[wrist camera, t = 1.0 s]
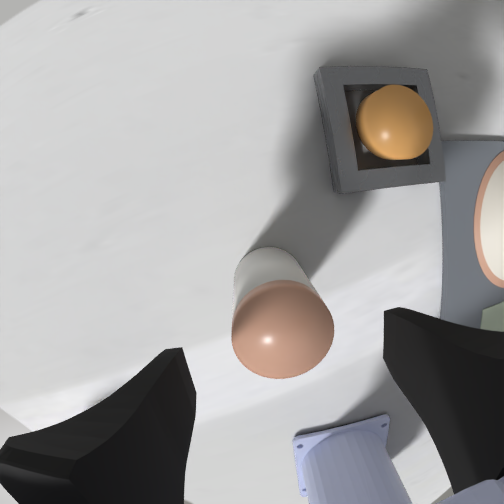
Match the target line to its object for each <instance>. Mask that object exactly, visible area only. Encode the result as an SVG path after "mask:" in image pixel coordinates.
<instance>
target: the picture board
mask: <svg viewBox="0 0 504 504" xmlns="http://www.w3.org/2000/svg"><path fill="white" fill-rule="evenodd" d="M441 142H442V149H443V157H444V165H445V175H446V181H444V182H439V185H440V197H441V212H442V237H443V273H442V299H441V314H440V319H442V320H445V321H449V322H452V323H456V324H460V325H464V326H468V327H473V328H478V329H485V330H491V331H501V332H504V141H441Z"/></svg>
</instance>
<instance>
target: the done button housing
mask: <svg viewBox="0 0 504 504" xmlns="http://www.w3.org/2000/svg"><path fill="white" fill-rule="evenodd" d="M314 80H315V85H316V89H317V94H318V99H319V105H320V110H321V115H322V120H323V126H324V132H325V137H326V143H327V149H328V156H329V162H330V169H331V175H332V182H333V190H334V192H335V193H341V194H344V193H351V192H358V191H366V190H374V189H382V188H390V187H398V186H407V185H416V184H425V183H435V182H444V181H446V175H445V165H444V157H443V149H442V142H441V136H440V130H439V124H438V118H437V113H436V108H435V103H434V98H433V93H432V89H431V84H430V80H429V76H428V72H427V69H416V68H401V67H374V66H343V67H319V69H318V70H317V71H316V73H315V74H314ZM387 85H402V86H405V87H408V88H410V89H411V90H413V91H414V92H416V93H417V94H418V95H419V96H420V97H421V98H422V99H423V100H424V102H425V103H426V105H427V106H428V108H429V111H430V113H431V116H432V120H433V136H432V140H431V143H430V145H429V147H428V148H427V149H426V151H425V152H424V153H422V154H421V155H420V156H418V157H417V162H418V164H416V165H404V166H393V167H382V168H373V169H363V170H358V166H357V159H356V153H355V146H354V140H353V134H352V129H351V123H350V118H349V112H348V107H347V102H346V97H345V92H344V91H356V90H379V89H381V88H382V87H385V86H387Z"/></svg>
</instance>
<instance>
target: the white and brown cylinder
mask: <svg viewBox="0 0 504 504" xmlns="http://www.w3.org/2000/svg"><path fill="white" fill-rule="evenodd" d="M333 337H334V323H333V319H332V316H331V313H330V311H329V310H328V308H327V306H326V305H325V303H324V302H323V300H322V299H321V297H320V296H319V294H318V293H317V291H316V290H315V288H314V287H313V285H312V284H311V282H310V280H309V279H308V277H307V276H306V274H305V273H304V271H303V270H302V268H301V267H300V265H299V264H298V262H297V261H296V260H295V258H294V257H293V256H292V255H291V254H289V253H288V252H286V251H284V250H282V249H279V248H275V247H263V248H259V249H256V250H254V251H252V252H250V253H248V254H247V255H246V256H245V257H244V258H243V259H242V260H241V261H240V263H239V264H238V266H237V268H236V271H235V275H234V291H233V313H232V346H233V349H234V352H235V354H236V356H237V358H238V359H239V361H240V362H241V363H242V364H243V365H244V366H245V367H246V368H247V369H249V370H250V371H252V372H253V373H256V374H258V375H260V376H263V377H267V378H274V379H284V378H291V377H295V376H298V375H301V374H303V373H305V372H307V371H309V370H311V369H312V368H314V367H315V366H316V365H317V364H318V363H319V362H320V361H321V360H322V359H323V358H324V357H325V356H326V354H327V353H328V351H329V349H330V347H331V345H332V341H333Z"/></svg>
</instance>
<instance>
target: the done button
mask: <svg viewBox="0 0 504 504" xmlns="http://www.w3.org/2000/svg"><path fill="white" fill-rule="evenodd" d="M356 129H357V133H358V135H359V138H360V140H361V141H362V143H363V145H364V146H365V147H366V148H367V149H368V150H369V151H370V152H371V153H372V154H374V155H375V156H377V157H379V158H382V159H385V160H401V159H412V158H415V157H418V156H420V155H421V154H422V153H424V152H425V151H426V149H427V148H428V147H429V145H430V143H431V140H432V136H433V120H432V116H431V113H430V111H429V108H428V106H427V105H426V103H425V102H424V100H423V99H422V98H421V97H420V96H419V95H418V94H417V93H416V92H414V91H413V90H411V89H410V88H408V87H405V86H402V85H387V86H385V87H382V88H381V89H379V90H377V91H375V92H374V93H372V94H370V95H368V96H367V97H366V98H364V99H363V101H362V102H361V103H360V105H359V107H358V109H357V112H356Z"/></svg>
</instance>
